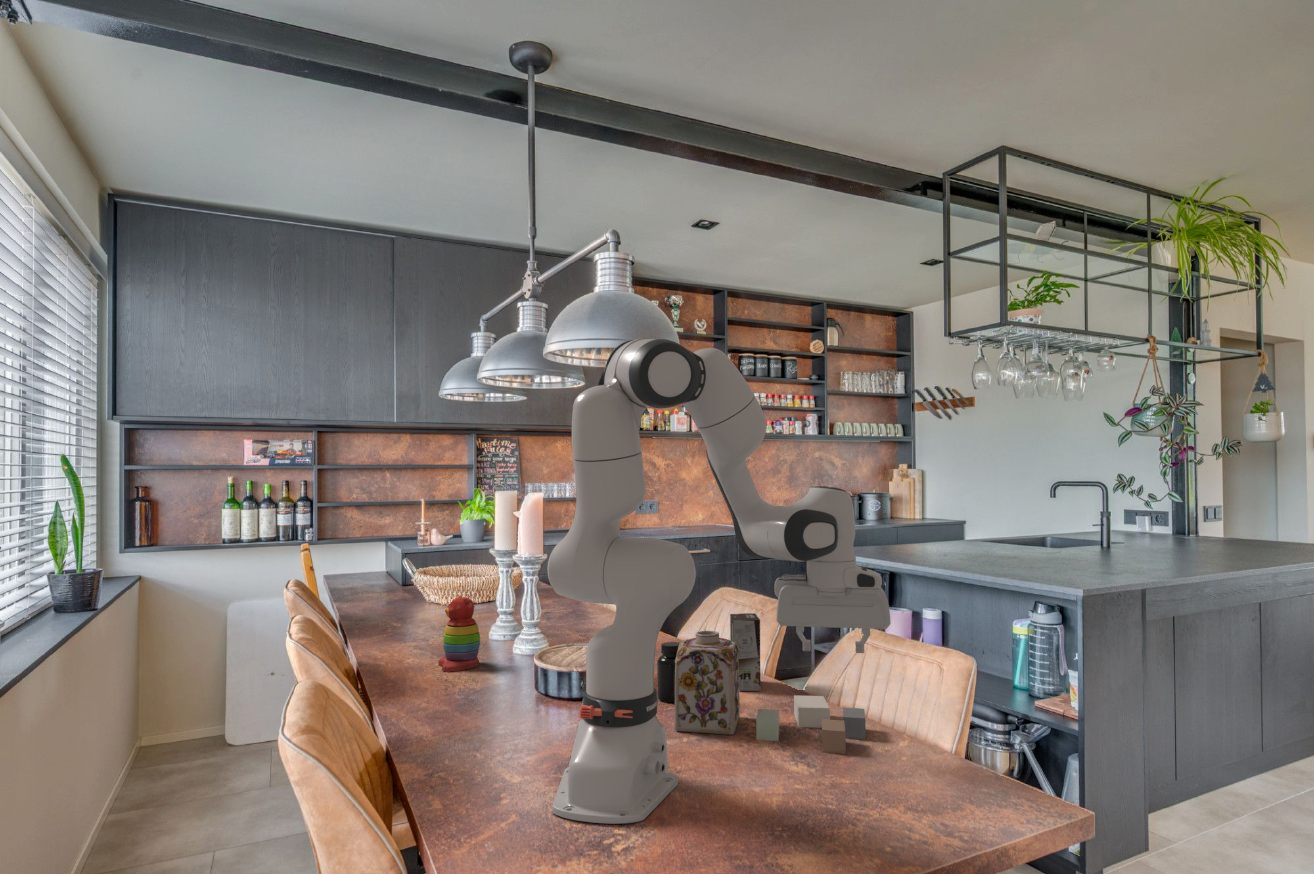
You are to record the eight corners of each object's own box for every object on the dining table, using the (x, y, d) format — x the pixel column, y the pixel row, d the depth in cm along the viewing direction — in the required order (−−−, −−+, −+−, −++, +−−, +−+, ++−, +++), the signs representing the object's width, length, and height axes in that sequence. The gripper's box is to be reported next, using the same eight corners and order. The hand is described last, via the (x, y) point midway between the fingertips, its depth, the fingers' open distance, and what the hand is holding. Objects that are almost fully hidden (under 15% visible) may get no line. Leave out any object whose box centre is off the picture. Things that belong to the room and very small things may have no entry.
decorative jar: (734, 736, 140) (733, 639, 141) (673, 732, 142) (673, 637, 143) (740, 716, 152) (739, 627, 153) (684, 712, 154) (683, 625, 155)
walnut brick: (845, 754, 131) (845, 731, 131) (822, 752, 132) (822, 729, 132) (844, 742, 137) (844, 720, 137) (822, 741, 138) (821, 719, 138)
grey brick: (865, 740, 138) (865, 718, 138) (843, 738, 139) (843, 716, 139) (864, 729, 144) (864, 708, 144) (843, 728, 145) (842, 707, 145)
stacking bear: (436, 663, 197) (437, 595, 198) (475, 659, 201) (476, 592, 202) (443, 672, 187) (444, 601, 188) (483, 668, 191) (484, 598, 192)
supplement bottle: (689, 694, 167) (688, 640, 167) (687, 703, 160) (687, 647, 161) (658, 694, 167) (658, 640, 168) (655, 703, 161) (655, 647, 161)
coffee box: (761, 691, 169) (760, 619, 170) (733, 691, 169) (732, 619, 170) (757, 680, 178) (756, 612, 179) (730, 680, 178) (729, 612, 179)
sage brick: (778, 741, 137) (778, 719, 137) (756, 740, 138) (756, 718, 138) (779, 730, 143) (779, 709, 143) (758, 729, 144) (758, 708, 144)
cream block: (829, 728, 144) (829, 707, 145) (798, 728, 145) (798, 707, 145) (823, 715, 152) (823, 695, 153) (794, 715, 153) (793, 695, 153)
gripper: (772, 576, 135) (774, 653, 134) (890, 578, 131) (892, 658, 130) (774, 571, 141) (776, 645, 140) (887, 573, 137) (889, 649, 136)
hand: (833, 651), depth 135 cm, fingers open, 8 cm apart
